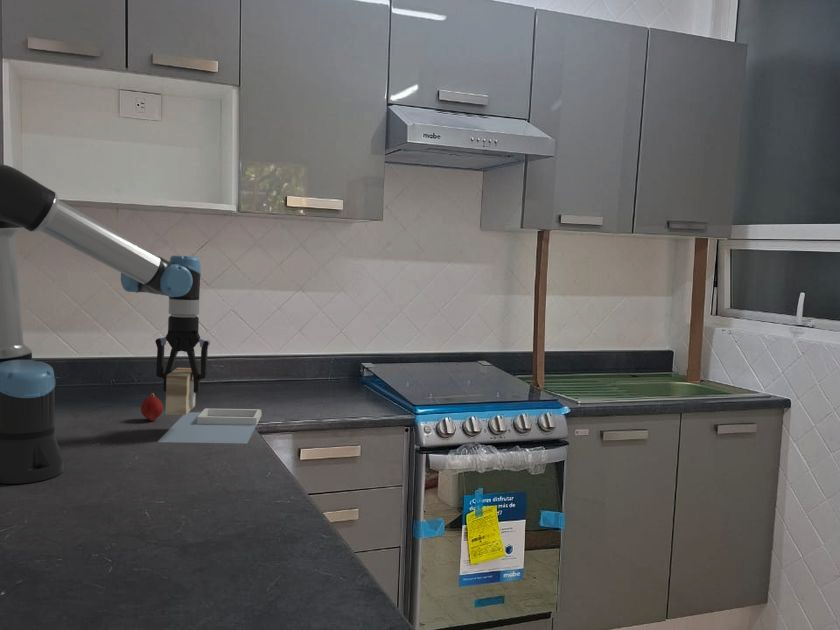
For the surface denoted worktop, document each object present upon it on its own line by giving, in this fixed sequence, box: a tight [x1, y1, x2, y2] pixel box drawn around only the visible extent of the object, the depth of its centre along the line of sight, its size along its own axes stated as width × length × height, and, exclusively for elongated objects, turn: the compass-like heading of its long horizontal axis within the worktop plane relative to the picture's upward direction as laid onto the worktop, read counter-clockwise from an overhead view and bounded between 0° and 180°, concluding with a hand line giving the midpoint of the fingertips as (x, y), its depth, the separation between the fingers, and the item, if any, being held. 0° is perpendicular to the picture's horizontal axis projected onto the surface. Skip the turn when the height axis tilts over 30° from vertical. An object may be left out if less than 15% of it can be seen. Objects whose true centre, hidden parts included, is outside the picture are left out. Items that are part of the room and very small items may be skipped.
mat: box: [157, 411, 263, 445], centre depth 206 cm, size 34×22×1 cm, turn 5°
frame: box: [197, 407, 262, 426], centre depth 214 cm, size 11×16×2 cm
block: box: [165, 367, 197, 416], centre depth 197 cm, size 12×5×10 cm, turn 5°
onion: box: [140, 392, 164, 422], centre depth 210 cm, size 6×6×8 cm
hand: (180, 404), depth 198 cm, fingers closed on block, 5 cm apart
